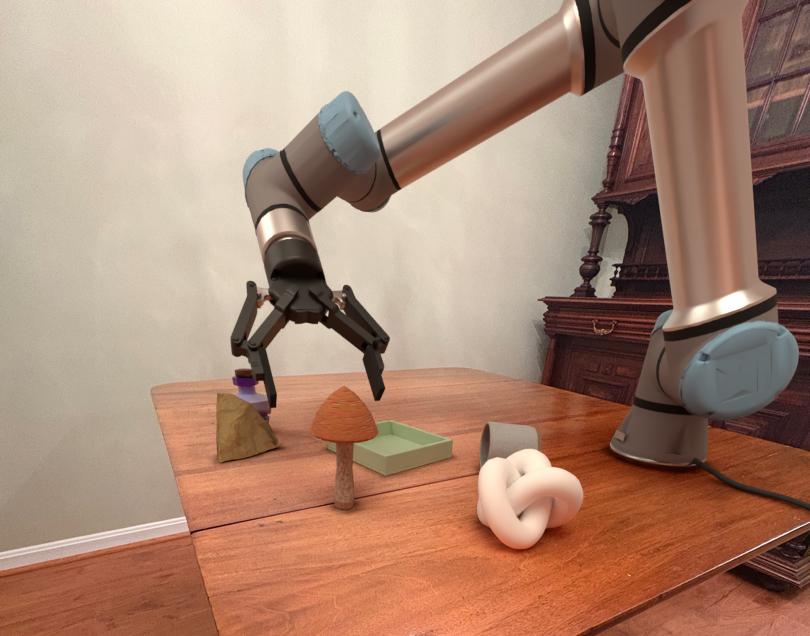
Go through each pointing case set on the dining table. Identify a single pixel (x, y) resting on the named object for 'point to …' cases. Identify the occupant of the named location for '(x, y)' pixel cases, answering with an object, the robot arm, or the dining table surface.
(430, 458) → the tray
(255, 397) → the potion bottle
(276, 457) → the dining table surface
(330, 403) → the mushroom
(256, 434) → the rock
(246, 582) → the dining table surface
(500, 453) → the ceramic mug
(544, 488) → the white knot sculpture
